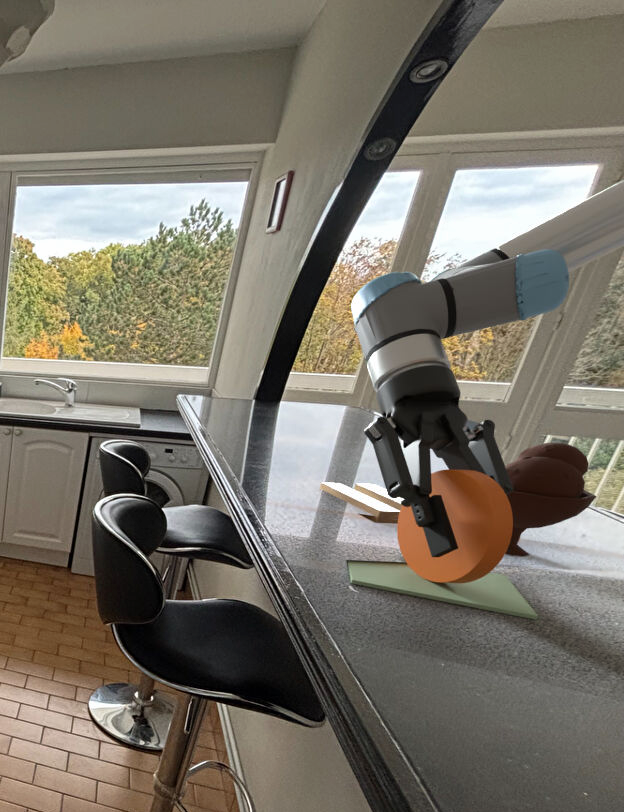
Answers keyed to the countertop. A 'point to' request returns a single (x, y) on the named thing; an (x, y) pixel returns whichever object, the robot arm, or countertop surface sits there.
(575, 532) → the countertop surface
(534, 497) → the ice cream bowl
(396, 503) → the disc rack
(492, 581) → the sage mat
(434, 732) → the countertop surface
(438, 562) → the orange disc
